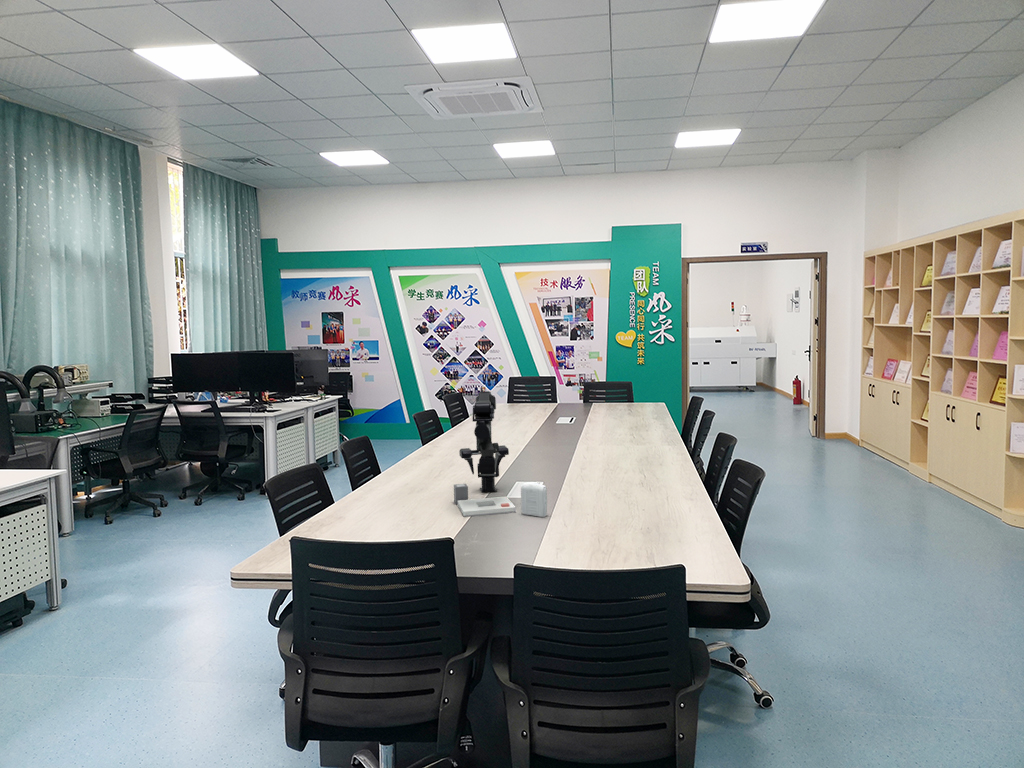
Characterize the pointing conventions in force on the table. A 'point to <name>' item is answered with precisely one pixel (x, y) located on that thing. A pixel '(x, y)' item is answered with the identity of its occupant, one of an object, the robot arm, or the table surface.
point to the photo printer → (534, 499)
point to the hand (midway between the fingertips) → (484, 473)
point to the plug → (460, 492)
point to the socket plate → (486, 506)
